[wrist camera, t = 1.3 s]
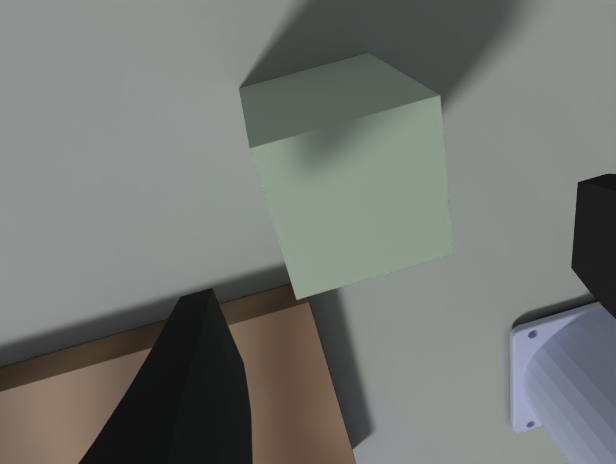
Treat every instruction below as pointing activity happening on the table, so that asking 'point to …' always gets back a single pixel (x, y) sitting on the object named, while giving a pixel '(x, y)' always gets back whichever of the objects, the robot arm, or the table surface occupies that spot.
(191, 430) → the robot arm
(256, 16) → the table surface
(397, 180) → the block
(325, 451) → the board
